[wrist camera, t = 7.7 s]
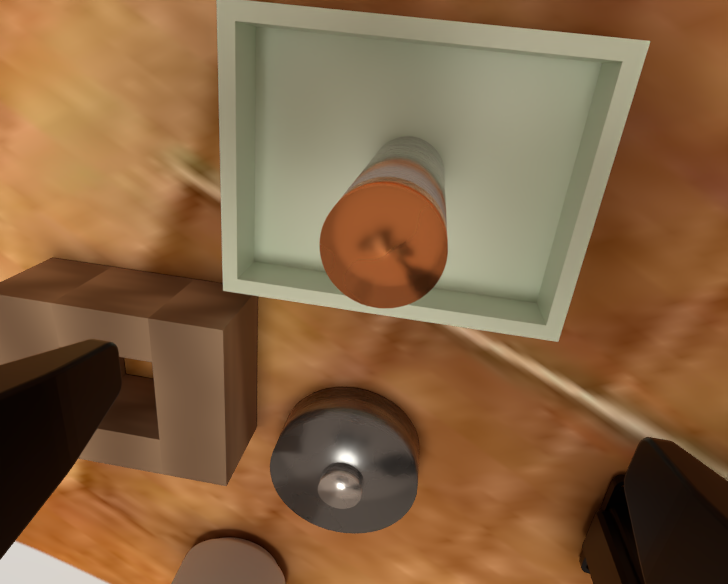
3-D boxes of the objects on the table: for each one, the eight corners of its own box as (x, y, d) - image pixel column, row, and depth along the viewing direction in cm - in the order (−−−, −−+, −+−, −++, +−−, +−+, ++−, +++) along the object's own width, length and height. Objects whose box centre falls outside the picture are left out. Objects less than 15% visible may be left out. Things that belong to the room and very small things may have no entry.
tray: (621, 45, 17) (650, 41, 14) (545, 312, 21) (558, 341, 19) (244, 6, 18) (216, -3, 15) (245, 268, 22) (223, 291, 20)
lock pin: (450, 141, 18) (458, 195, 10) (437, 214, 19) (436, 317, 11) (375, 131, 18) (324, 177, 10) (367, 204, 19) (315, 298, 11)
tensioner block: (257, 288, 22) (222, 330, 19) (256, 427, 26) (226, 486, 22) (52, 257, 23) (-20, 291, 19) (76, 396, 26) (19, 447, 23)
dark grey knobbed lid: (429, 400, 23) (428, 446, 21) (409, 506, 26) (405, 559, 23) (286, 376, 24) (265, 417, 21) (282, 482, 27) (263, 532, 24)
